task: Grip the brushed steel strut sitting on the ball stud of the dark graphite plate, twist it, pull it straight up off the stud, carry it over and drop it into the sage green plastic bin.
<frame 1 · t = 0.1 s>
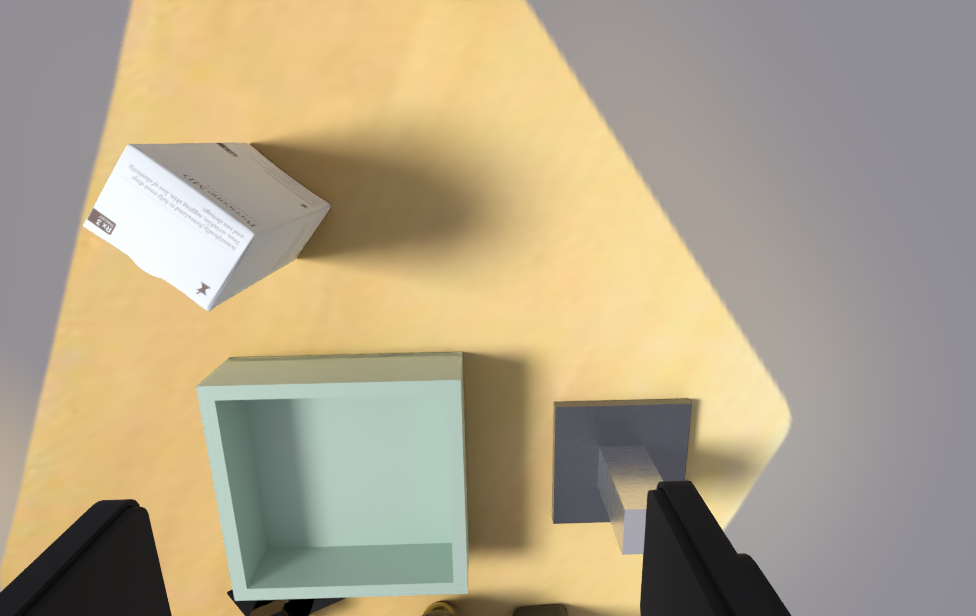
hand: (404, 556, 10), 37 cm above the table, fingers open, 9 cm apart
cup: (441, 611, 57), on the table
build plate: (290, 588, 56), on the table
bin: (356, 457, 51), on the table
strut: (620, 465, 51), point 1 cm above the table, touching stud plate
skincare box: (269, 202, 45), on the table
stud plate: (617, 459, 52), on the table
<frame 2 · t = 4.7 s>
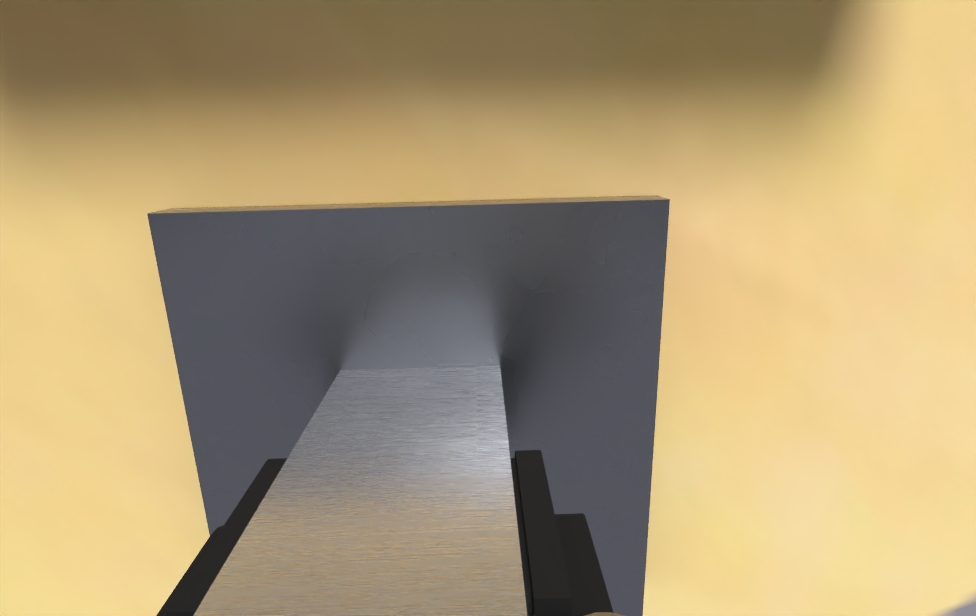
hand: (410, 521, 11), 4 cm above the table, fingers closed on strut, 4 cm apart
strut: (424, 439, 15), point 1 cm above the table, touching gripper, stud plate
stud plate: (427, 421, 16), on the table
when the fingers open (7 cm above the table, at t = 13.6 s): strut drops 2 cm, resting on bin.
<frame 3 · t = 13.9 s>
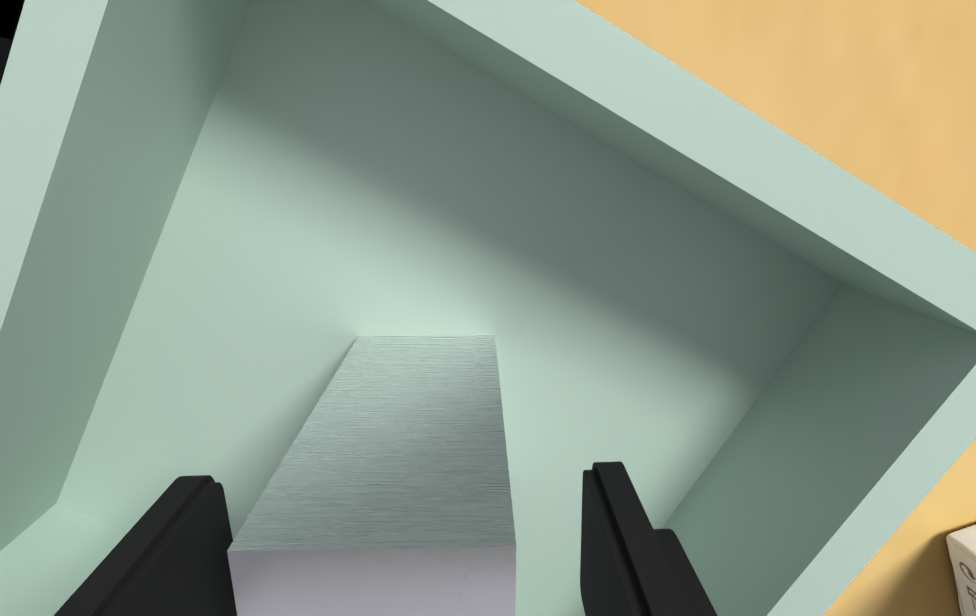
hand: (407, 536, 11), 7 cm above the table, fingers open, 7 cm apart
bin: (434, 384, 18), on the table
strut: (428, 398, 17), point 1 cm above the table, touching bin
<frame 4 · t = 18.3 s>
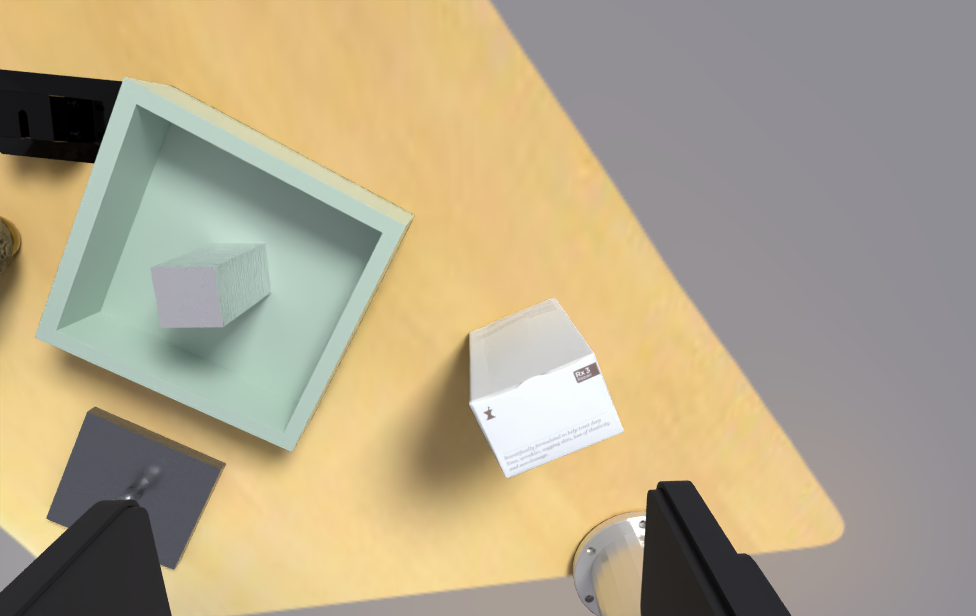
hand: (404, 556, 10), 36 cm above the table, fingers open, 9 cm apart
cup: (3, 235, 45), on the table
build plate: (73, 119, 43), on the table
bin: (249, 265, 46), on the table
strut: (243, 268, 45), point 1 cm above the table, touching bin
skincare box: (525, 339, 48), on the table
stud plate: (139, 487, 51), on the table
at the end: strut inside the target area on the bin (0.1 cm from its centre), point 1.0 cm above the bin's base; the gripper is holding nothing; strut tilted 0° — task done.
